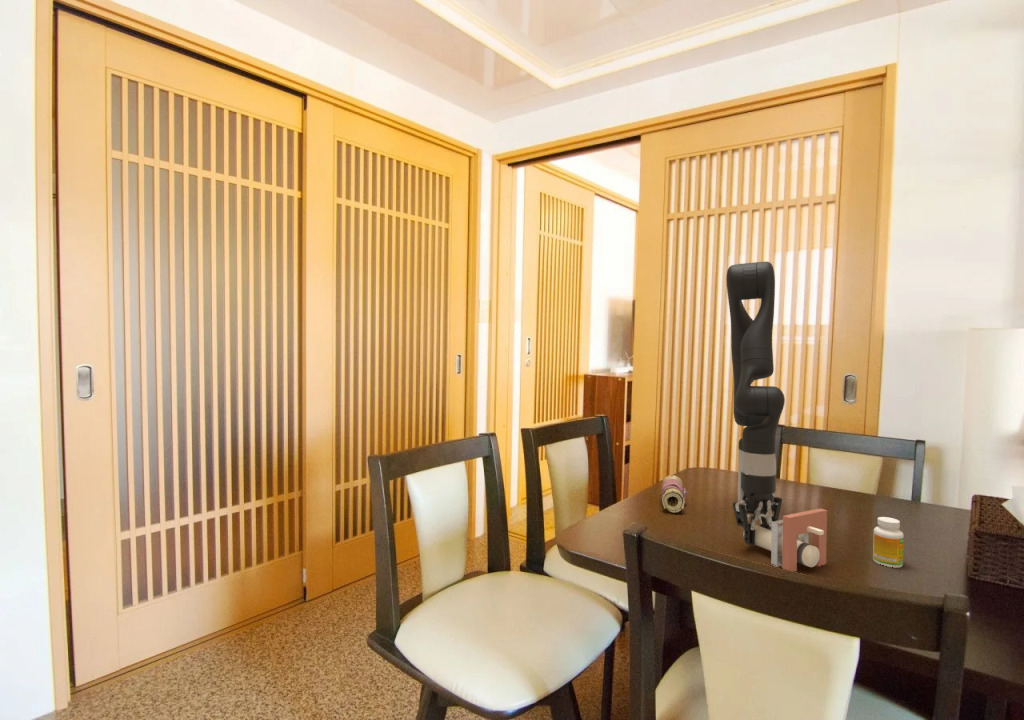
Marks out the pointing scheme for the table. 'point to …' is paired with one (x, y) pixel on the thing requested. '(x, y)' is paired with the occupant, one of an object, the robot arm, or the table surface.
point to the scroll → (673, 494)
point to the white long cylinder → (763, 536)
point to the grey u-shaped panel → (780, 542)
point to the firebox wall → (800, 525)
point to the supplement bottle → (888, 543)
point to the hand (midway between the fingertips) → (757, 542)
